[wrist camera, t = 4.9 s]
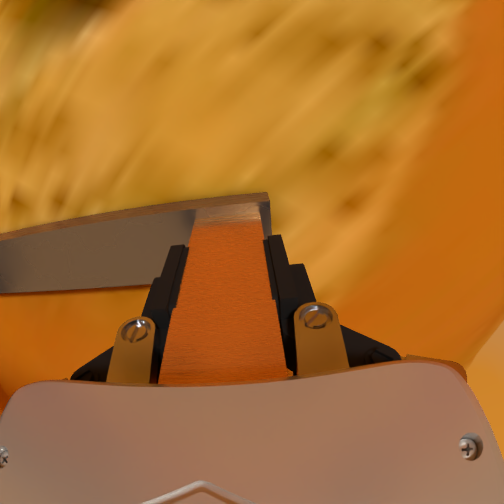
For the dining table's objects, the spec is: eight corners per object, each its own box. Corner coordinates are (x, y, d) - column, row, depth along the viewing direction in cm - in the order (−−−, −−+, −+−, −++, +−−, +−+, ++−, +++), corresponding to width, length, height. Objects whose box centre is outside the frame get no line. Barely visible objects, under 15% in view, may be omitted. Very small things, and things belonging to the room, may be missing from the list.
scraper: (267, 191, 15) (321, 404, 5) (271, 260, 17) (307, 463, 7) (-41, 244, 15) (-119, 337, 5) (-22, 285, 17) (-86, 382, 7)
